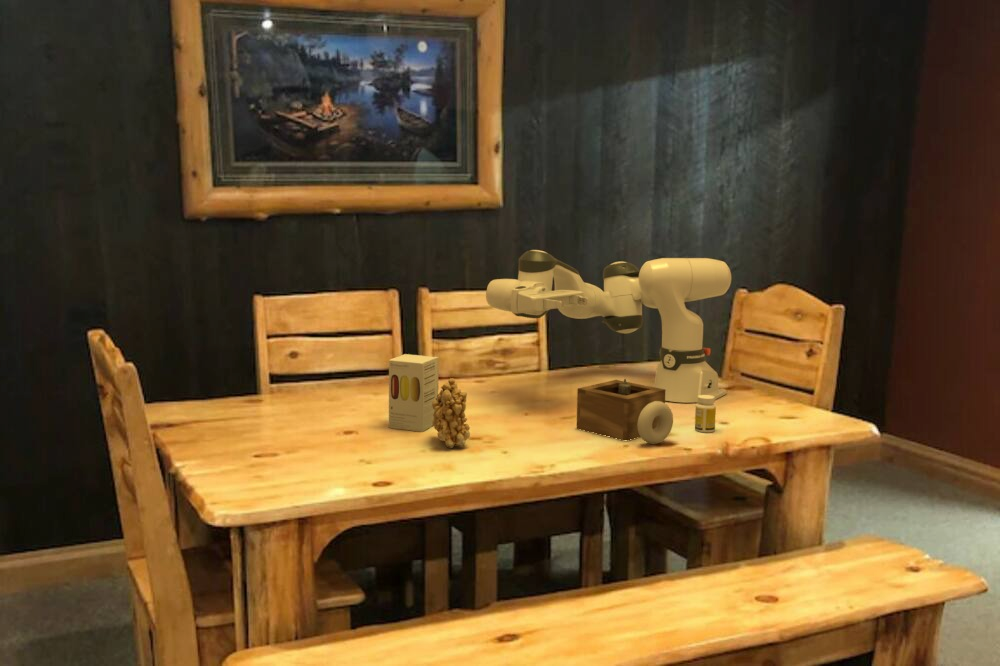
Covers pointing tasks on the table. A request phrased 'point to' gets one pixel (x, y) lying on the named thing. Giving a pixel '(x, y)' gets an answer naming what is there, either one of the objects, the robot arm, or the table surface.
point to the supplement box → (412, 391)
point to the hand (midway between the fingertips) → (574, 303)
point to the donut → (647, 419)
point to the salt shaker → (624, 388)
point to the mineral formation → (451, 415)
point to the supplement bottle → (705, 414)
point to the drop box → (614, 408)
